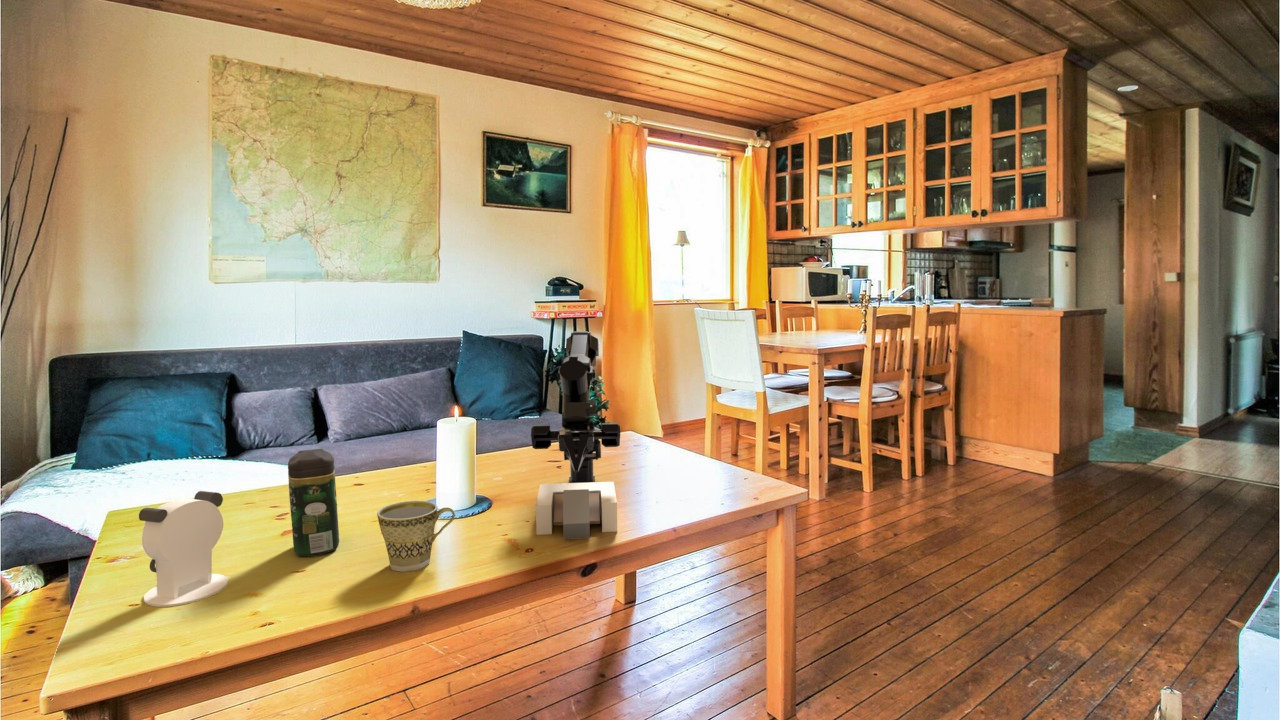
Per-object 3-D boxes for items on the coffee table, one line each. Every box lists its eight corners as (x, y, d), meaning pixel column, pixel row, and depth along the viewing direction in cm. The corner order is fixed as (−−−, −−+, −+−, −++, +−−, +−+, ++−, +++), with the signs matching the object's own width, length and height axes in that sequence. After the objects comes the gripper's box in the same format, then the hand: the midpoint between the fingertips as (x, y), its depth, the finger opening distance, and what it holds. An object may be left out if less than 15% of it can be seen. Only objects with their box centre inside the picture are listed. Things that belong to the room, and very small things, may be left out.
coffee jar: (293, 543, 128) (287, 448, 126) (338, 536, 132) (333, 444, 130) (292, 561, 120) (285, 460, 118) (340, 553, 123) (334, 455, 121)
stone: (563, 490, 132) (563, 523, 126) (588, 489, 133) (589, 523, 127) (564, 505, 135) (563, 539, 129) (588, 504, 136) (589, 538, 130)
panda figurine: (196, 570, 116) (189, 486, 115) (247, 578, 113) (241, 492, 111) (125, 601, 105) (117, 508, 103) (180, 610, 101) (172, 515, 100)
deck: (540, 510, 146) (540, 484, 146) (613, 508, 148) (613, 481, 147) (536, 534, 132) (535, 505, 131) (617, 531, 133) (616, 502, 133)
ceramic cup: (381, 580, 112) (378, 522, 111) (378, 558, 121) (375, 505, 120) (460, 567, 117) (458, 511, 116) (452, 547, 126) (450, 495, 125)
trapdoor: (554, 494, 140) (554, 492, 139) (598, 493, 141) (598, 490, 140) (553, 525, 133) (553, 522, 132) (600, 523, 133) (600, 520, 133)
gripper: (530, 387, 140) (527, 451, 130) (619, 385, 141) (623, 448, 132) (534, 417, 148) (531, 479, 139) (617, 415, 150) (621, 476, 140)
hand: (576, 470), depth 137 cm, fingers closed
